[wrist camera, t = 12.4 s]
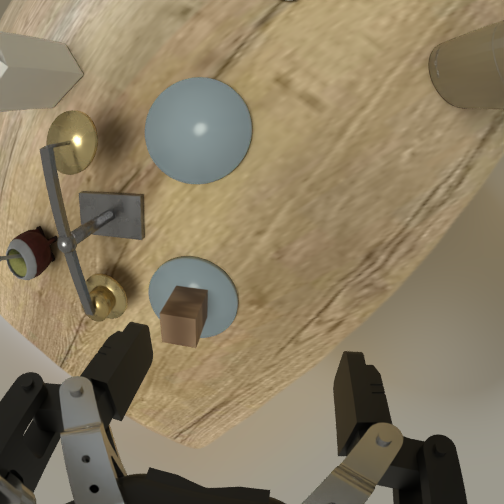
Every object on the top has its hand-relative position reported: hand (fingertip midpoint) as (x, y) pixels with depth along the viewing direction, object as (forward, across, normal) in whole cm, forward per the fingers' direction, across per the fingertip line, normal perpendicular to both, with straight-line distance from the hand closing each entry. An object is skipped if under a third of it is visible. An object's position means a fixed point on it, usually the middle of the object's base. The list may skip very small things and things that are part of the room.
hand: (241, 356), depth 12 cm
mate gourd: (+27, +36, +9) cm, 46 cm away
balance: (+27, +22, +4) cm, 35 cm away
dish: (+27, +10, +16) cm, 33 cm away
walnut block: (+26, +10, +16) cm, 32 cm away
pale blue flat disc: (+28, +10, -7) cm, 30 cm away
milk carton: (+27, +32, -17) cm, 45 cm away
